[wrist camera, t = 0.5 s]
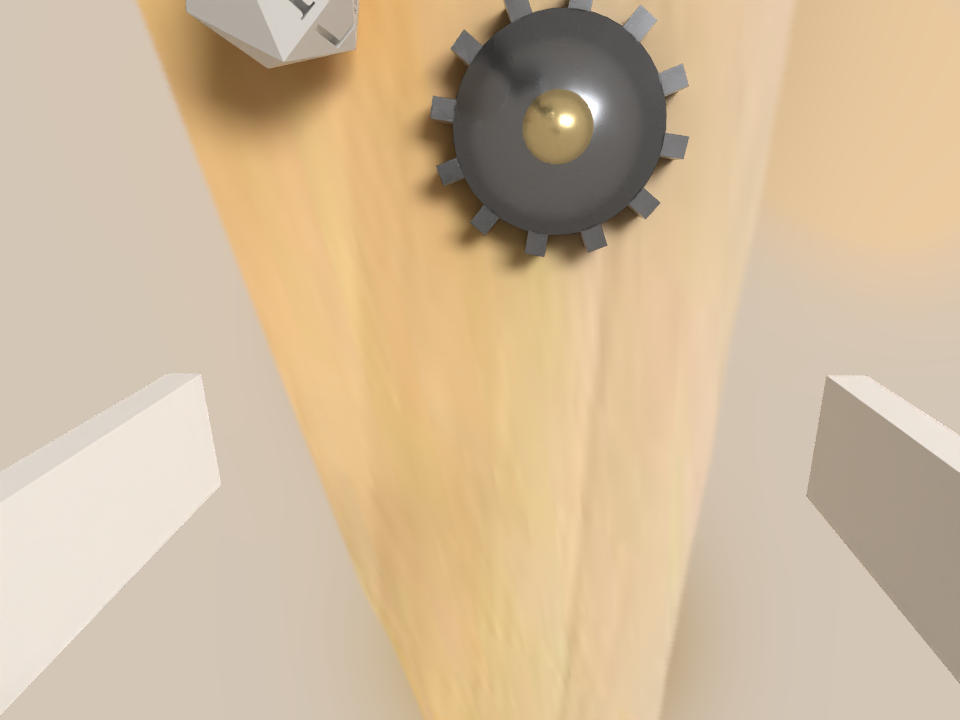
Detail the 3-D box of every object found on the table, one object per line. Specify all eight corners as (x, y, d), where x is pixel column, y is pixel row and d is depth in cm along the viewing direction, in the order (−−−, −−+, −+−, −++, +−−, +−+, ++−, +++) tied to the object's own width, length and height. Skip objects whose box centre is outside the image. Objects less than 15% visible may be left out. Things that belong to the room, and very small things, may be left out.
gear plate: (400, 56, 36) (390, 48, 33) (638, -53, 33) (646, -71, 31) (487, 283, 39) (484, 290, 37) (708, 202, 37) (720, 204, 34)
